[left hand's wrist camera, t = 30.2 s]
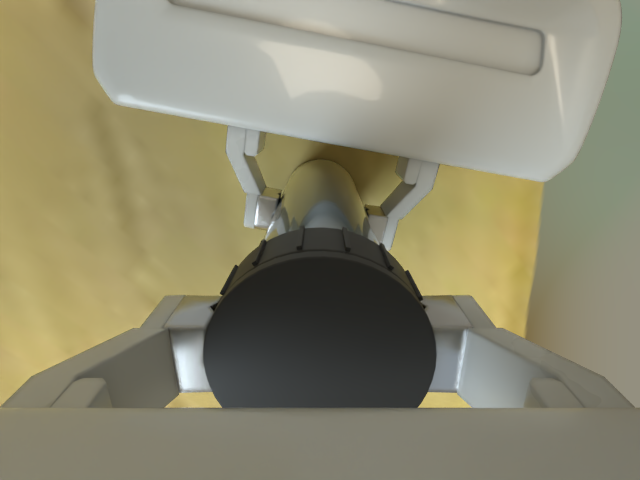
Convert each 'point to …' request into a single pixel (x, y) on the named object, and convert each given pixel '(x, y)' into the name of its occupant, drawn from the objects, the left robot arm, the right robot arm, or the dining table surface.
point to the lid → (319, 327)
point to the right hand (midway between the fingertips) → (318, 235)
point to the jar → (320, 202)
